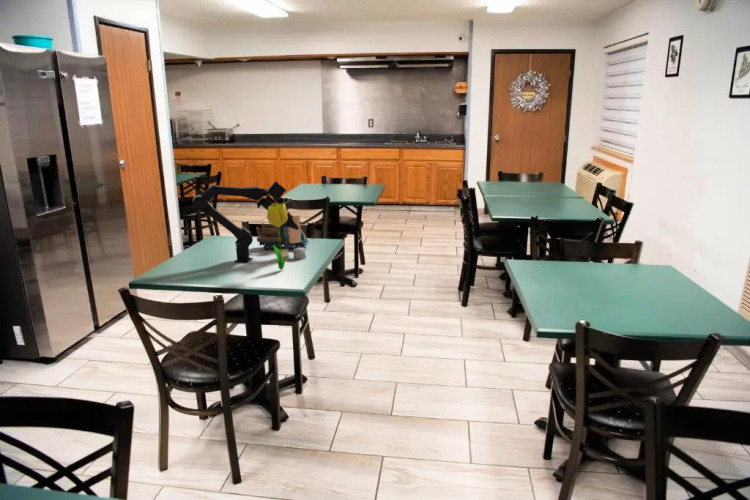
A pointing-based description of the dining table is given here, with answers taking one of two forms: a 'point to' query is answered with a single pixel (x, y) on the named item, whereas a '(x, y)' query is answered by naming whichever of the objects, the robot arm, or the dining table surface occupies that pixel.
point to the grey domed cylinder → (299, 253)
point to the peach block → (295, 230)
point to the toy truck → (272, 237)
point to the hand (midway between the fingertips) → (297, 227)
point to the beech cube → (284, 254)
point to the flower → (277, 225)
